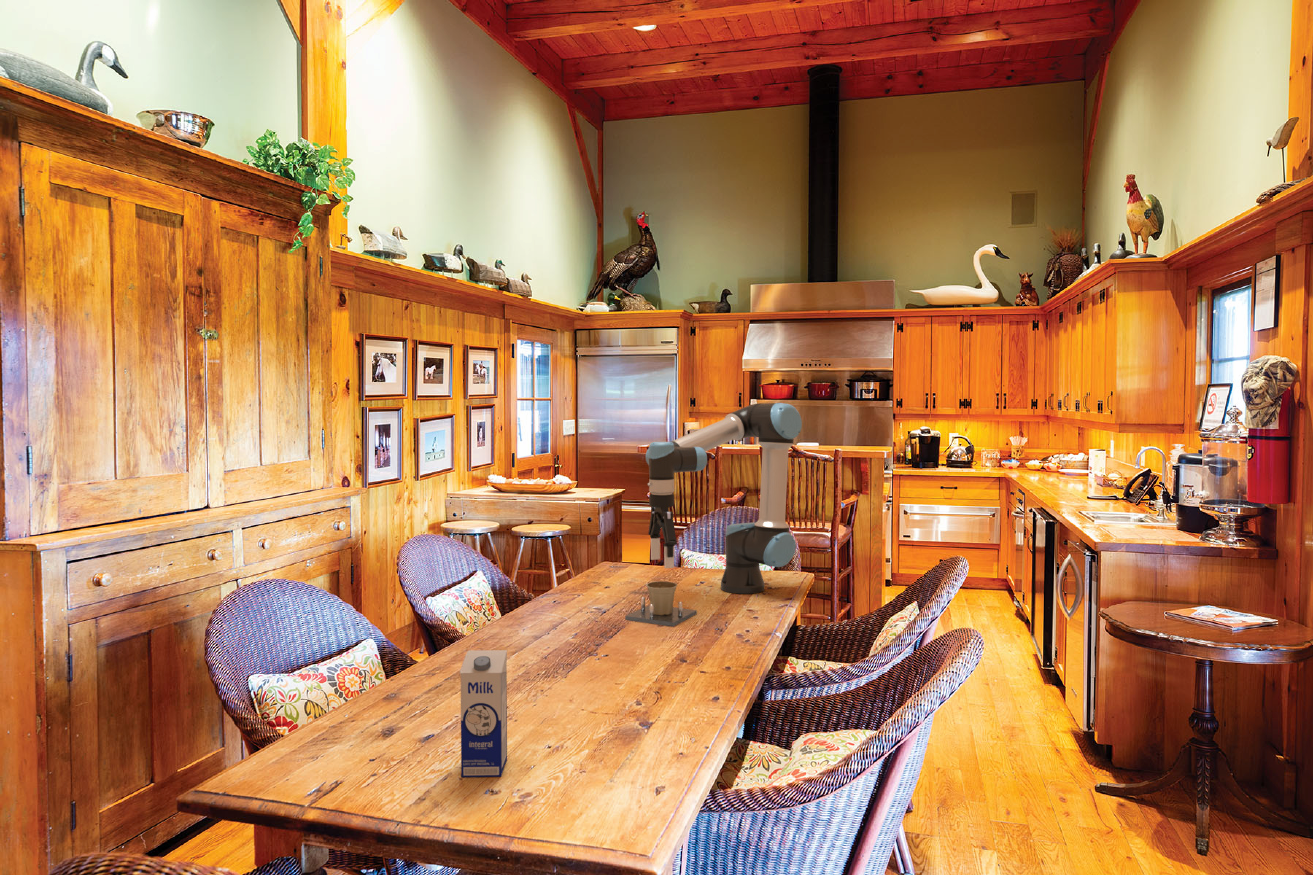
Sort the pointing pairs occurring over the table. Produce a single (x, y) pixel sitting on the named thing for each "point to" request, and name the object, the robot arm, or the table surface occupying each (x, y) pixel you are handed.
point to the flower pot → (662, 596)
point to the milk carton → (484, 713)
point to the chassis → (648, 615)
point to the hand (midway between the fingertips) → (662, 563)
